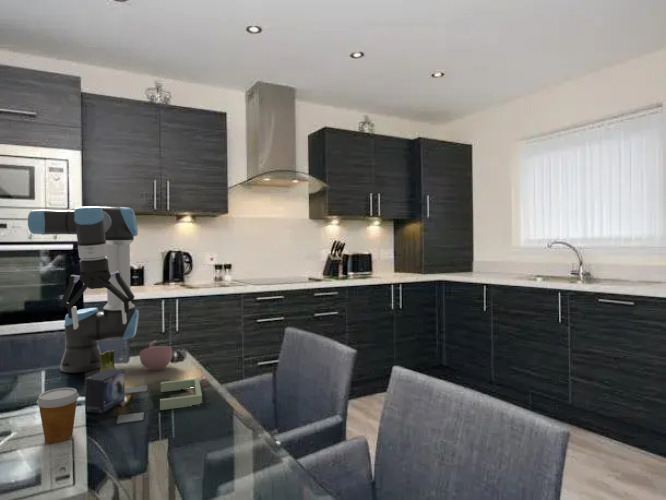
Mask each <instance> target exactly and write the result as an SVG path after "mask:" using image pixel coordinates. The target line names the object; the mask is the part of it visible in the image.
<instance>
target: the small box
mask: <svg viewBox="0 0 666 500" xmlns="http://www.w3.org/2000/svg"><path fill="white" fill-rule="evenodd" d="M125 374H126V373H125V370H124V369H117V368H115V369H107V370H104V371H102V372H100V371H99V372H97V373H95V374H93V375H90V376H88V377H86V378H85V404H84V405H85V408H84V409H85V410H84V411H86V413H93V412H94V413H95V414H104V413H106V412H108V411H109V410H111V409H113V408H115V407H117V406H119V405H120V404H123V402H125V401H126V400H125V399H126V398H125V397H126V396H125V395H126V394H125V389H126V387H125V386H126V385H125V384H126V382H125V380H126V376H125Z"/></svg>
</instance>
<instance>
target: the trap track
mask: <svg viewBox="0 0 666 500" xmlns="http://www.w3.org/2000/svg"><path fill="white" fill-rule="evenodd" d="M148 386H149V385H139V386H130V387H129V386H128V387H125V395H129V394H130V395H131V394H136V393H137V394H138V393H146V392H148ZM190 387H194V388H195V389H194V388H193V389H194V394H193V395H185V396H176V397H168V398H167V397H166V398H160V399H159V410H160V411H163V410H164V411H165V410H172V409H179V408H187V407H188V406H189V407H193V406H192V405H196V404H200V403H202V404H203V394H202V388H201V383H200V378H191V379H189V378H188V379H180V380H170V381H168V380H167V381H161V382H160V393H163V392H164V393H165V392H172V391H182V390H181V389H183V390H186V389H185V388H190ZM195 394H196V395H195ZM144 416H145V412H144V411H143V412H135V413H126V414H118V416H117V420H116V425H120V424H126V423H133V422H142V421H144Z"/></svg>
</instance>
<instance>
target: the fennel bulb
mask: <svg viewBox="0 0 666 500" xmlns="http://www.w3.org/2000/svg"><path fill="white" fill-rule="evenodd" d="M100 356H101V367H100V368H99V369H100V370H99V373H100V372H102V371H104V370H107V369H116V365H115V350H107V351H104V352H103V353H102V352H101V354H100Z"/></svg>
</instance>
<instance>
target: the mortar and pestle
mask: <svg viewBox="0 0 666 500" xmlns="http://www.w3.org/2000/svg"><path fill="white" fill-rule="evenodd" d="M157 343H158V341H157V340H154V341H152V342H150V343H149V345H148V346H149V347H146V348H143V349H141V351H140V352H139V360H140V364H141V365H143V367H144V368H145V369H147V370H150V371H160V370H162V369H164V368H166V367H167V366H168V365H169V364H170V362H171V361H172V358H173V349H172V347H171V346H169V345H158V346H156V345H155V344H157Z"/></svg>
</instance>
